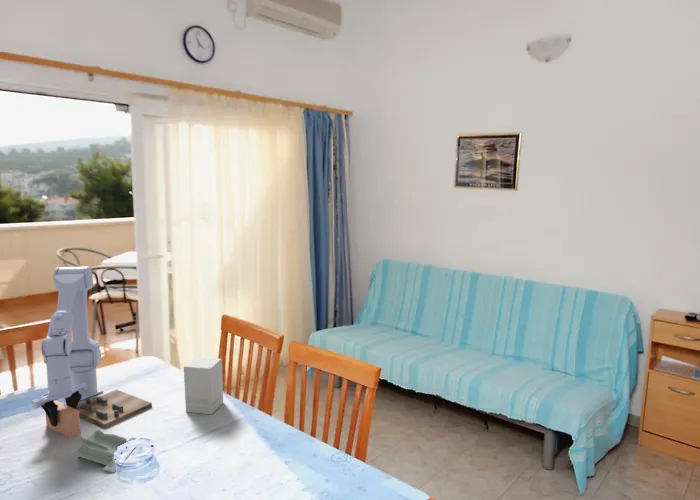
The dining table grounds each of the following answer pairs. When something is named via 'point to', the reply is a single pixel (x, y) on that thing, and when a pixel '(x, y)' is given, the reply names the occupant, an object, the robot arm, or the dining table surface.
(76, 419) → the door panel
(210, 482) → the dining table surface
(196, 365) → the supplement box
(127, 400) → the cabinet side board
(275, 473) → the dining table surface
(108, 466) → the grey-green ridged piece
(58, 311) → the robot arm
